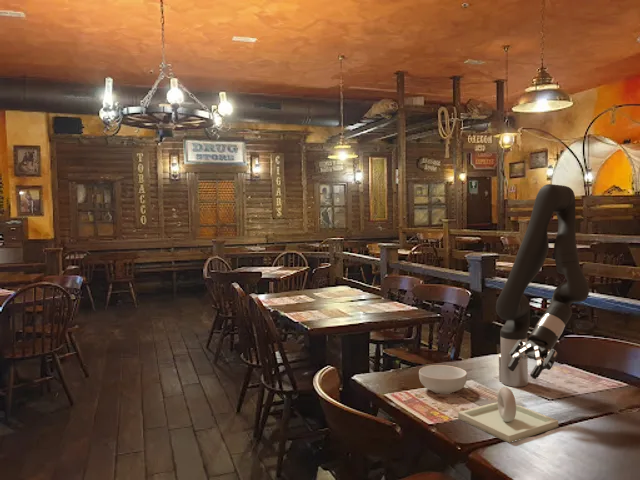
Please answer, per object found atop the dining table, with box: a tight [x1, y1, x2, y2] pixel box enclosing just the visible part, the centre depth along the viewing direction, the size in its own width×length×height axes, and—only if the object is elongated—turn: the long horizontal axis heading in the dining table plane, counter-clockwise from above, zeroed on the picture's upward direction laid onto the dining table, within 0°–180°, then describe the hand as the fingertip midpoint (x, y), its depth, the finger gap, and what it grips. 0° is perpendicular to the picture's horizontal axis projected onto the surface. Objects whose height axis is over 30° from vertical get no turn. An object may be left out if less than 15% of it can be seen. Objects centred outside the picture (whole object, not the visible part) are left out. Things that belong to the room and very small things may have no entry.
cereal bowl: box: [418, 364, 468, 395], centre depth 183 cm, size 17×17×7 cm
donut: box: [496, 386, 517, 422], centre depth 153 cm, size 10×4×10 cm, turn 177°
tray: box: [457, 401, 559, 444], centre depth 153 cm, size 20×20×2 cm
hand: (521, 373), depth 156 cm, fingers open, 8 cm apart
